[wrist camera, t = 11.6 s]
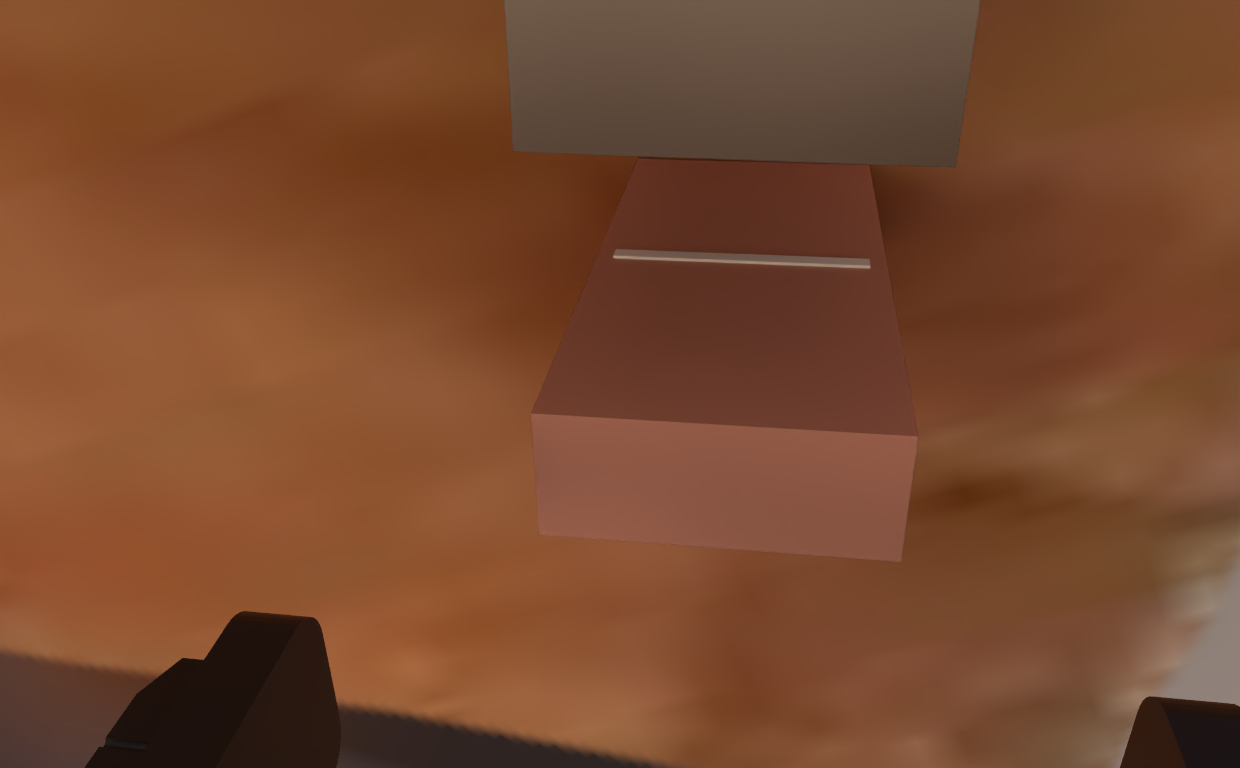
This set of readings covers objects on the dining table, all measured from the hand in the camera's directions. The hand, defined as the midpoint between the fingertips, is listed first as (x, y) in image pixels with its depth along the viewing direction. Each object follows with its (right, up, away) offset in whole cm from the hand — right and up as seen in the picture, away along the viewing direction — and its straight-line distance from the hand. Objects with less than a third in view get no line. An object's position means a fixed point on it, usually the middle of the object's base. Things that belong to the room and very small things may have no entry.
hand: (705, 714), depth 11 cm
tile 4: (+2, +12, +10) cm, 16 cm away
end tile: (+2, +7, +13) cm, 15 cm away
